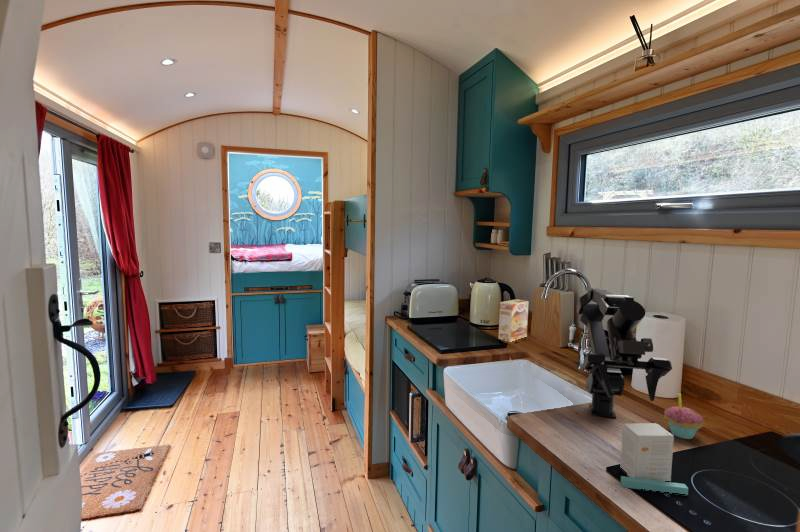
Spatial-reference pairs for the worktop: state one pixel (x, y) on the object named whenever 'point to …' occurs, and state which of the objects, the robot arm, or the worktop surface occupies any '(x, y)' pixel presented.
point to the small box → (647, 451)
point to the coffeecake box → (513, 320)
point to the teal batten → (654, 485)
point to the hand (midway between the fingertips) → (631, 398)
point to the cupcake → (683, 420)
